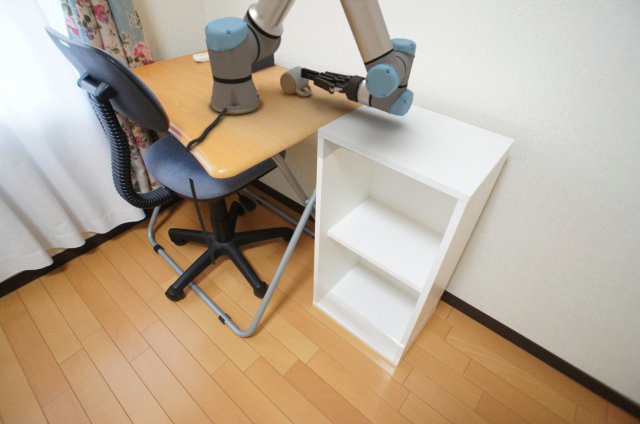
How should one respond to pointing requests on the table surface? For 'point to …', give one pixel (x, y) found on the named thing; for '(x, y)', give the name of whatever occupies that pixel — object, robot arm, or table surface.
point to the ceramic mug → (294, 82)
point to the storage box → (263, 64)
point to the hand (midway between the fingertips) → (302, 72)
